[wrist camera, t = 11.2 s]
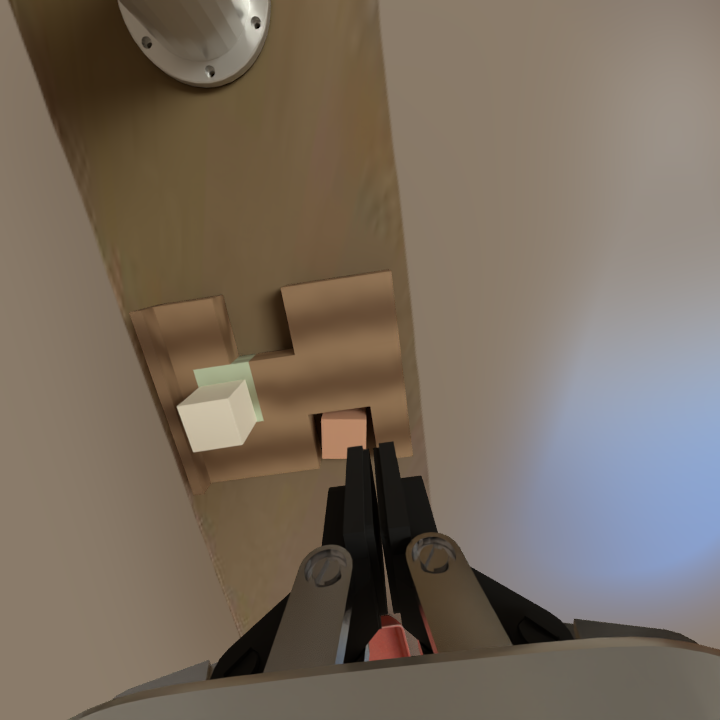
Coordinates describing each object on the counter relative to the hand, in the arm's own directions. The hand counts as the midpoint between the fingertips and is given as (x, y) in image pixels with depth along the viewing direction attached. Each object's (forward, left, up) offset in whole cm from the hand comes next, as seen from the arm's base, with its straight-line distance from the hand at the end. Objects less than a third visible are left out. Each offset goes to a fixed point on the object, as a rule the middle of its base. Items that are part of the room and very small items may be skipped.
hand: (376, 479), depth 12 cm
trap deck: (+5, -8, -27) cm, 29 cm away
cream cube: (+6, -16, -24) cm, 29 cm away
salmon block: (+12, -4, -27) cm, 30 cm away
